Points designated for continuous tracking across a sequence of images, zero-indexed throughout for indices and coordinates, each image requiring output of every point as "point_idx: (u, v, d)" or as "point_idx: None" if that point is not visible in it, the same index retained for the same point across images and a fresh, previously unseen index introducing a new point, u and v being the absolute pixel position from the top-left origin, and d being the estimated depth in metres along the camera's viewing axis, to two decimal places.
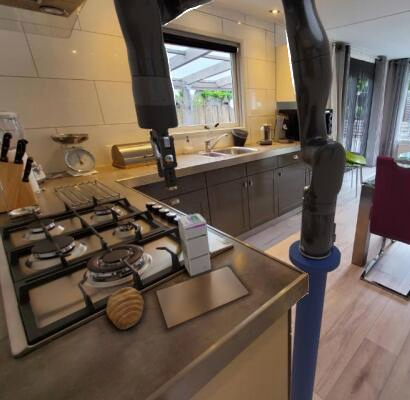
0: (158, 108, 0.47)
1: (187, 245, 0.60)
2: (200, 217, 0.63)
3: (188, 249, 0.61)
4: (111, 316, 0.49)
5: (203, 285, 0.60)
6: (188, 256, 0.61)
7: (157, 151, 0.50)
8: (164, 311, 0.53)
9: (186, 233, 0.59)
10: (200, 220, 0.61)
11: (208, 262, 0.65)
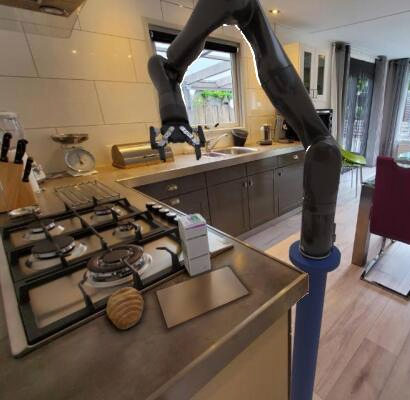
0: None
1: (187, 245, 0.60)
2: (200, 217, 0.63)
3: (188, 249, 0.61)
4: (111, 316, 0.49)
5: (203, 285, 0.60)
6: (188, 256, 0.61)
7: None
8: (164, 311, 0.53)
9: (186, 233, 0.59)
10: (200, 220, 0.61)
11: (208, 262, 0.65)
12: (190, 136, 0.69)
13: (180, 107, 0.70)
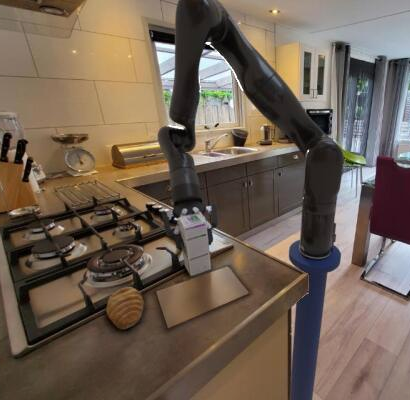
0: None
1: (187, 245, 0.60)
2: (200, 217, 0.62)
3: (188, 249, 0.61)
4: (111, 316, 0.49)
5: (203, 285, 0.60)
6: (188, 256, 0.61)
7: None
8: (164, 311, 0.53)
9: (186, 233, 0.59)
10: (200, 220, 0.61)
11: (208, 262, 0.65)
12: (204, 218, 0.65)
13: (193, 186, 0.66)
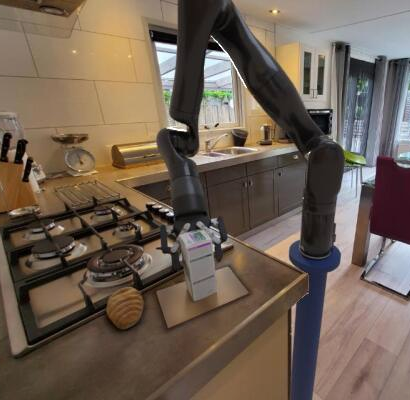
0: (172, 205, 0.58)
1: (190, 267, 0.52)
2: (205, 234, 0.54)
3: (191, 272, 0.52)
4: (111, 316, 0.49)
5: None
6: (191, 280, 0.53)
7: None
8: (164, 311, 0.53)
9: (188, 254, 0.51)
10: (205, 238, 0.53)
11: (214, 285, 0.57)
12: (209, 234, 0.56)
13: (197, 197, 0.58)
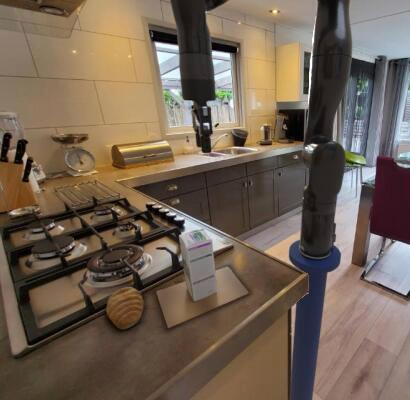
0: (199, 81, 0.54)
1: (190, 267, 0.52)
2: (205, 234, 0.54)
3: (191, 272, 0.52)
4: (111, 316, 0.49)
5: None
6: (191, 280, 0.53)
7: (196, 120, 0.57)
8: (164, 311, 0.53)
9: (188, 254, 0.51)
10: (205, 238, 0.53)
11: (214, 285, 0.57)
12: None
13: None
